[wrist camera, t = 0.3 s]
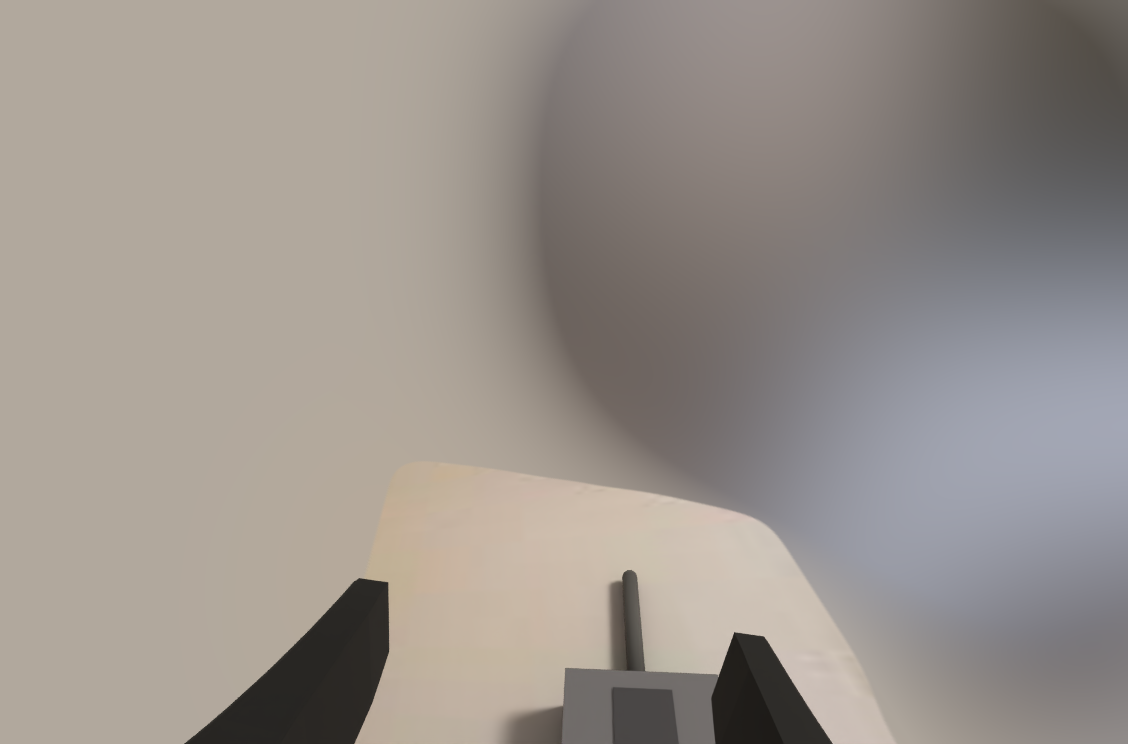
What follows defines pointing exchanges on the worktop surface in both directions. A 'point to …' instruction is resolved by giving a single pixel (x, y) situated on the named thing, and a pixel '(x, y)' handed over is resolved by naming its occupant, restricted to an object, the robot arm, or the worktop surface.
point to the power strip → (636, 696)
